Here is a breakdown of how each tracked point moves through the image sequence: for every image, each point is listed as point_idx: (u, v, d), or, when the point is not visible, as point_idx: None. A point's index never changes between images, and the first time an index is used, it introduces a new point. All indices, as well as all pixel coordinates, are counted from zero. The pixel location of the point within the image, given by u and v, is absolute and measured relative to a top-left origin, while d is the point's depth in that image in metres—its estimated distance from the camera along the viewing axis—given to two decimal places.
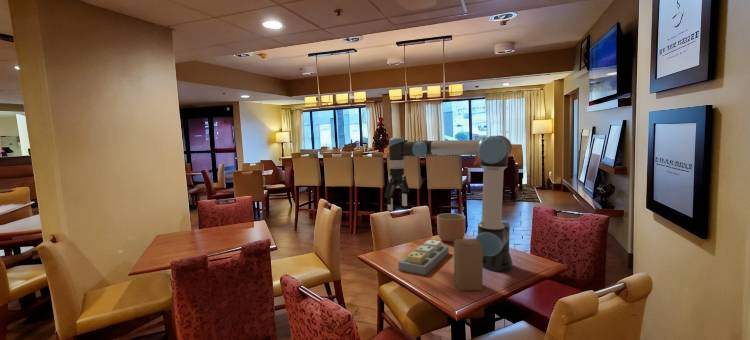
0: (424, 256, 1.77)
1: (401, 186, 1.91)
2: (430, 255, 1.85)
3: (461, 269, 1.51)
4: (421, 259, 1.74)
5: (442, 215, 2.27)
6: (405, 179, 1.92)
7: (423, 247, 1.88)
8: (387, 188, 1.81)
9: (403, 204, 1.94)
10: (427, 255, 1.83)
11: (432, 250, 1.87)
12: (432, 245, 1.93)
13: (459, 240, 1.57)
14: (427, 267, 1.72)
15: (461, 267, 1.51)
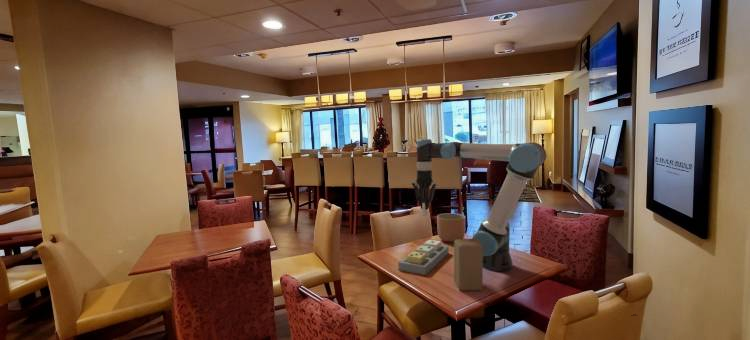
0: (424, 256, 1.77)
1: None
2: (430, 255, 1.85)
3: (461, 269, 1.51)
4: (421, 259, 1.74)
5: (442, 215, 2.27)
6: (432, 187, 1.80)
7: (423, 247, 1.88)
8: None
9: None
10: (427, 255, 1.83)
11: (432, 250, 1.87)
12: (432, 245, 1.93)
13: (459, 240, 1.57)
14: (427, 267, 1.72)
15: (461, 267, 1.51)
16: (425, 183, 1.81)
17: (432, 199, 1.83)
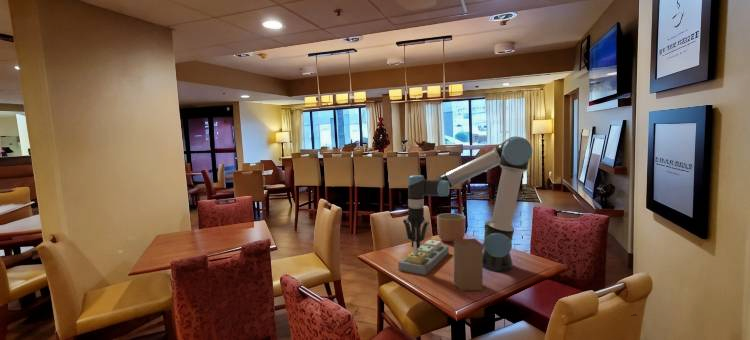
0: (424, 256, 1.77)
1: None
2: (430, 255, 1.85)
3: (461, 269, 1.51)
4: (421, 259, 1.74)
5: (442, 215, 2.27)
6: (424, 226, 1.73)
7: (423, 247, 1.88)
8: None
9: None
10: (427, 255, 1.83)
11: (432, 250, 1.87)
12: (432, 245, 1.93)
13: (459, 240, 1.57)
14: (427, 267, 1.72)
15: (461, 267, 1.51)
16: (416, 221, 1.73)
17: None
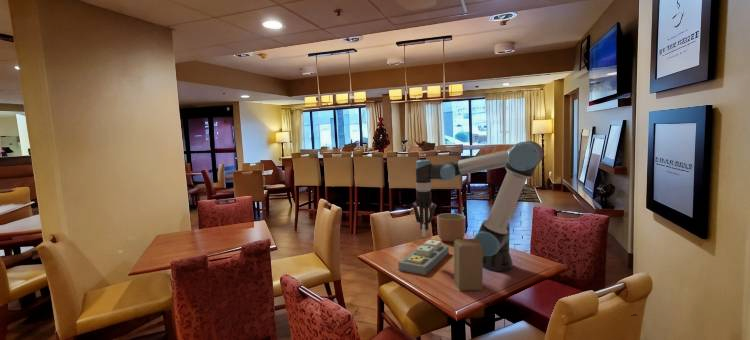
0: (424, 260, 1.78)
1: None
2: (430, 255, 1.85)
3: (461, 269, 1.51)
4: (421, 263, 1.74)
5: (442, 215, 2.27)
6: (432, 208, 1.80)
7: (423, 247, 1.88)
8: None
9: None
10: (427, 255, 1.83)
11: (432, 250, 1.87)
12: (432, 245, 1.93)
13: (459, 240, 1.57)
14: (427, 267, 1.72)
15: (461, 267, 1.50)
16: (425, 204, 1.81)
17: None
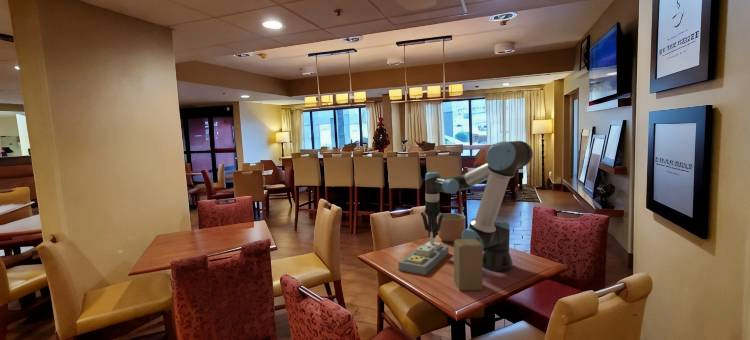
0: (424, 260, 1.78)
1: None
2: (430, 255, 1.85)
3: (461, 269, 1.51)
4: (421, 263, 1.74)
5: None
6: (440, 217, 1.92)
7: (423, 247, 1.88)
8: None
9: None
10: (427, 255, 1.83)
11: (432, 250, 1.87)
12: None
13: (459, 240, 1.57)
14: (427, 267, 1.72)
15: (461, 267, 1.51)
16: (433, 214, 1.92)
17: (439, 228, 1.95)
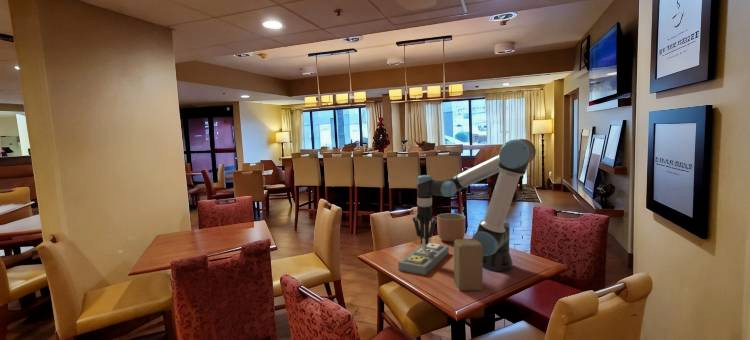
0: (424, 260, 1.78)
1: None
2: None
3: (461, 269, 1.51)
4: (421, 263, 1.74)
5: (442, 215, 2.27)
6: (432, 223, 1.82)
7: None
8: None
9: None
10: None
11: (432, 253, 1.87)
12: (432, 248, 1.93)
13: (459, 240, 1.57)
14: (427, 267, 1.72)
15: (461, 267, 1.51)
16: (425, 219, 1.83)
17: (432, 234, 1.85)
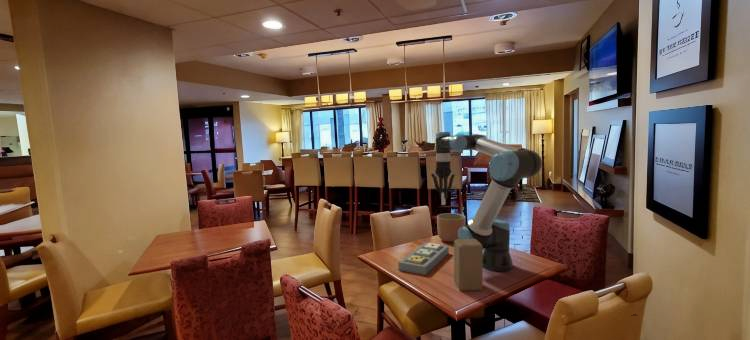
0: (424, 260, 1.78)
1: None
2: None
3: (461, 269, 1.51)
4: (421, 263, 1.74)
5: (442, 215, 2.27)
6: (451, 177, 1.90)
7: (423, 250, 1.88)
8: None
9: None
10: None
11: (432, 253, 1.87)
12: (432, 248, 1.93)
13: (459, 240, 1.57)
14: (427, 267, 1.72)
15: (461, 267, 1.51)
16: (444, 173, 1.90)
17: None
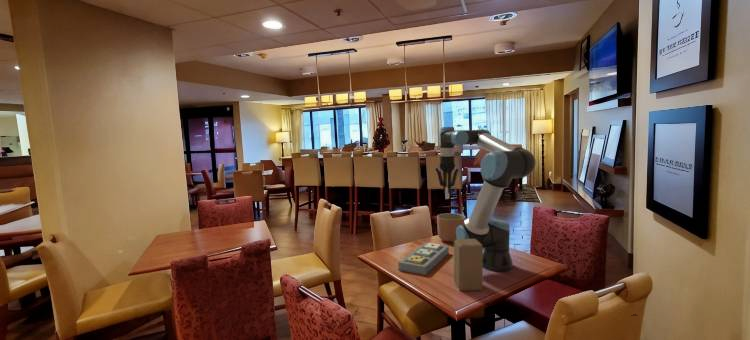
0: (424, 260, 1.78)
1: None
2: None
3: (461, 269, 1.51)
4: (421, 263, 1.74)
5: (442, 215, 2.27)
6: (455, 172, 1.92)
7: (423, 250, 1.88)
8: None
9: None
10: None
11: (432, 253, 1.87)
12: (432, 248, 1.93)
13: (459, 240, 1.57)
14: (427, 267, 1.72)
15: (461, 267, 1.51)
16: (448, 168, 1.93)
17: (454, 183, 1.95)
